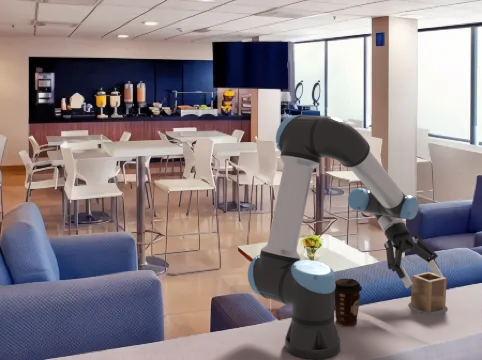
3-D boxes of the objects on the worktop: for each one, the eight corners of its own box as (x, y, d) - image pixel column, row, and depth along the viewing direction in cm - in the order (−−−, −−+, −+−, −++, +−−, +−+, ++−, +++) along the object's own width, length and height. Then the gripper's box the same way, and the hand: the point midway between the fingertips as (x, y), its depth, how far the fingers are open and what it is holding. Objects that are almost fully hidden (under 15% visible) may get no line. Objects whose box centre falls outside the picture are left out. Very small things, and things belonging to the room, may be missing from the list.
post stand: (402, 313, 189) (403, 286, 187) (415, 302, 198) (416, 276, 197) (440, 321, 182) (441, 293, 180) (452, 309, 191) (453, 282, 190)
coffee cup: (359, 318, 185) (360, 277, 183) (362, 328, 177) (363, 286, 175) (331, 317, 186) (332, 277, 184) (332, 327, 178) (333, 286, 176)
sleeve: (410, 305, 191) (411, 275, 190) (427, 301, 195) (428, 271, 193) (428, 313, 185) (429, 282, 183) (445, 308, 188) (446, 278, 187)
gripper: (414, 228, 211) (446, 281, 200) (359, 238, 198) (390, 295, 188) (426, 216, 205) (459, 270, 195) (371, 225, 193) (402, 283, 183)
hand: (425, 282), depth 191 cm, fingers open, 13 cm apart
